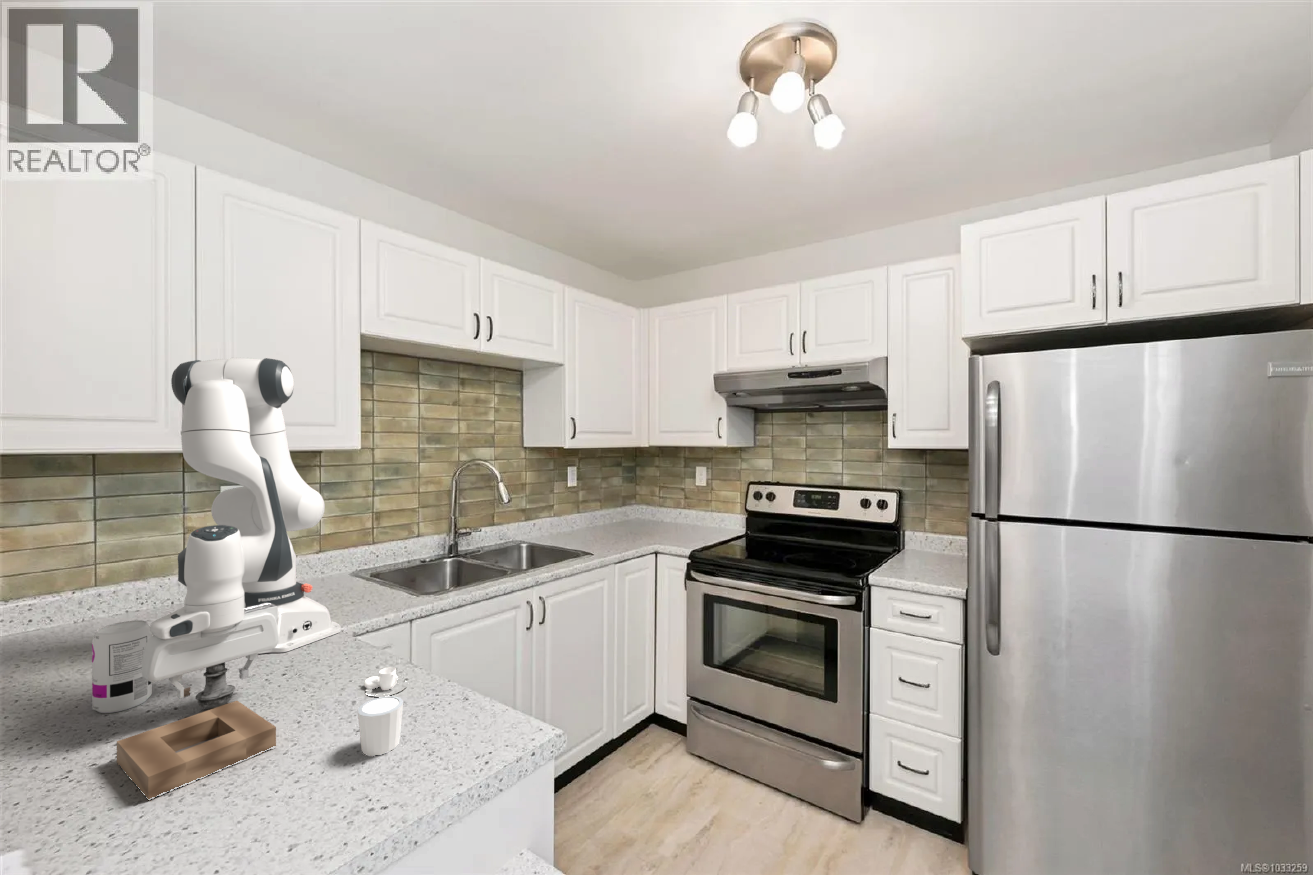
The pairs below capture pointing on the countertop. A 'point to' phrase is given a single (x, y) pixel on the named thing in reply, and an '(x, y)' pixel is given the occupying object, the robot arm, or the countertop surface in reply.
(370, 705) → the white cylinder
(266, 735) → the holder
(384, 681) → the teacup and saucer
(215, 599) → the robot arm
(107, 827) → the countertop surface
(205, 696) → the grey tall rounded piece
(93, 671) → the supplement can
